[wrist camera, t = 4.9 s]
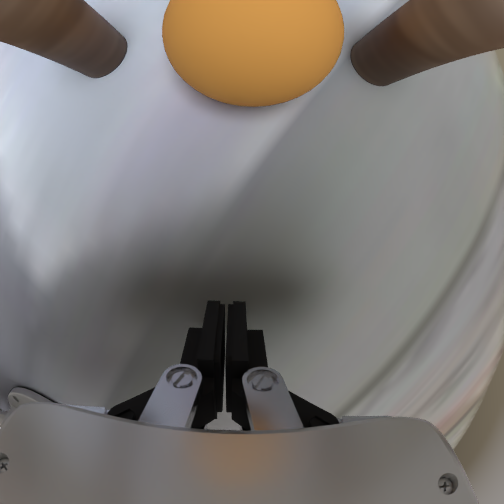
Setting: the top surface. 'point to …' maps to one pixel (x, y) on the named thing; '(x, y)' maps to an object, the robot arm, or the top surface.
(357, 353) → the top surface
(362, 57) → the post
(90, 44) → the post
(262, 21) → the ball
